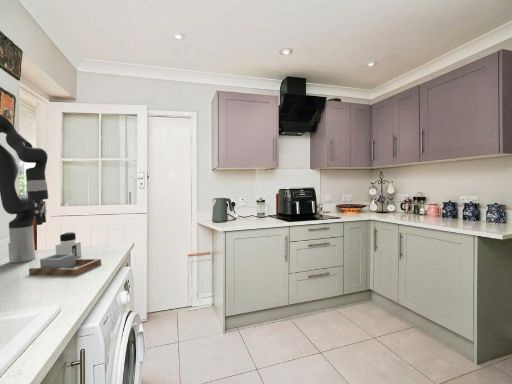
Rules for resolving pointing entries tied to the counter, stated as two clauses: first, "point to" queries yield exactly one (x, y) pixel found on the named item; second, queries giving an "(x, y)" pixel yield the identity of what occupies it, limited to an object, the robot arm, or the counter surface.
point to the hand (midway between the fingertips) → (41, 223)
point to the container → (68, 245)
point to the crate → (58, 261)
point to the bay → (85, 263)
